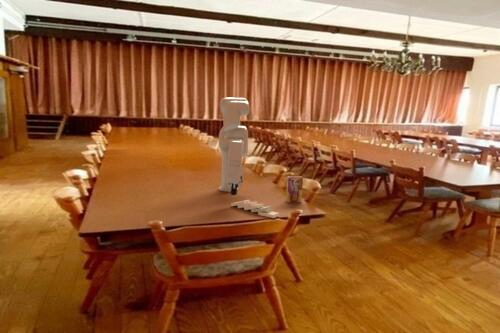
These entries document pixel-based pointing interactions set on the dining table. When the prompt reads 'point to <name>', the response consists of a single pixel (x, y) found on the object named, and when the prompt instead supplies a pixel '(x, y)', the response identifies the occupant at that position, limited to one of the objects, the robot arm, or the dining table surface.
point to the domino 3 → (254, 206)
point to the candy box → (294, 189)
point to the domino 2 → (247, 204)
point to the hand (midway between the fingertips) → (233, 194)
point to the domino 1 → (240, 202)
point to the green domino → (261, 209)
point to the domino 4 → (268, 214)
